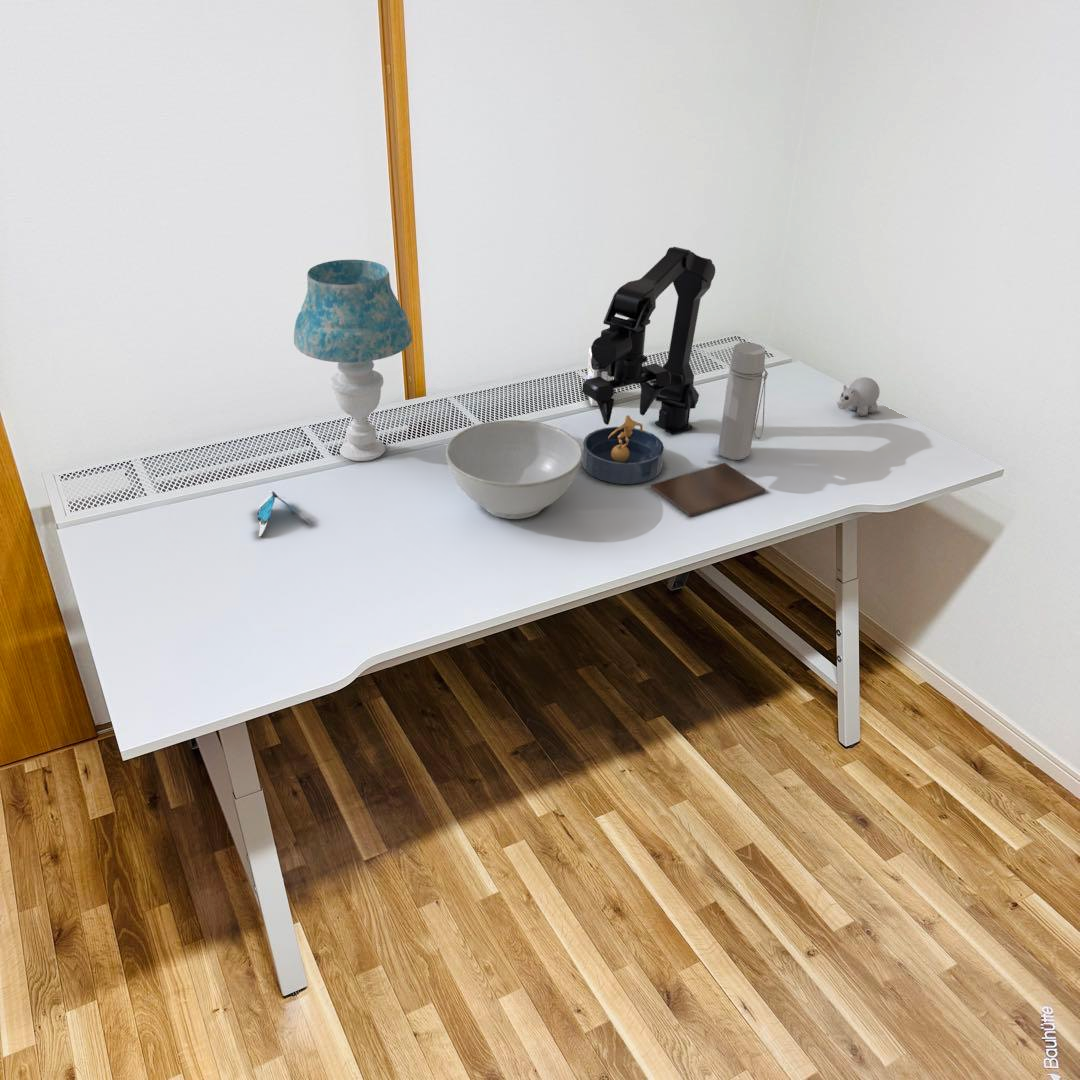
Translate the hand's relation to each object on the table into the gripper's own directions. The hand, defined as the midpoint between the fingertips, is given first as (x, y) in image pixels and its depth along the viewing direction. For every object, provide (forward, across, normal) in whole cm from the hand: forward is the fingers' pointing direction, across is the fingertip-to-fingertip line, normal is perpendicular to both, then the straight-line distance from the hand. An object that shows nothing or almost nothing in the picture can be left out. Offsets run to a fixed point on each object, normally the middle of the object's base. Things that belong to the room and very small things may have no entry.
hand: (624, 419), depth 208 cm
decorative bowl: (+11, +28, +3) cm, 31 cm away
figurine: (+11, 0, 0) cm, 11 cm away
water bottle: (+11, -26, +9) cm, 29 cm away
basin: (+11, 0, 0) cm, 11 cm away
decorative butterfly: (+11, +72, -14) cm, 74 cm away
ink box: (+11, -14, -30) cm, 35 cm away
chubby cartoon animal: (+11, -65, +6) cm, 66 cm away
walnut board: (+11, -10, +18) cm, 23 cm away
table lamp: (+11, +47, -32) cm, 58 cm away
